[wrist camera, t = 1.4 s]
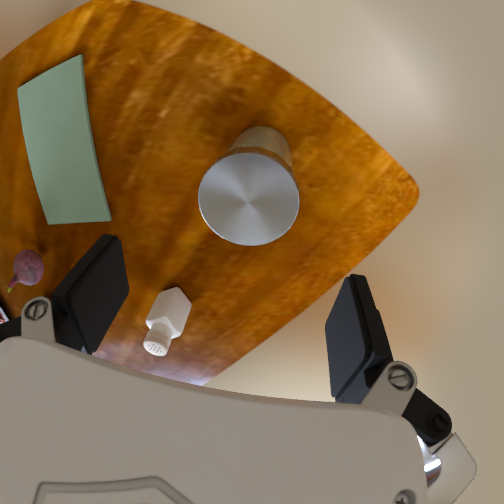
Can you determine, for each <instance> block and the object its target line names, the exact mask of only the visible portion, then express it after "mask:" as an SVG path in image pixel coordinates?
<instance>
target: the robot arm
mask: <svg viewBox="0 0 504 504" xmlns="http://www.w3.org/2000/svg"><path fill="white" fill-rule="evenodd" d="M128 293H129V285H128V280H127V275H126V269H125V263H124V257H123V251H122V245H121V241H120V240H118V237H117V236H115V235H109V234H103V235H102V236H101V237H100V238H99V239H98V240H97V242H96V243H95V244H94V245H93V246H92V247H91V248H90V249H89V250H88V251H87V252H86V254H85V255H84V256H83V257H82V258H81V259H80V260H79V261H78V263H77V264H76V265H75V266H74V267H73V268H72V269H71V271H70V272H69V273H68V274H67V275H66V277H65V278H64V279H63V280H62V281H61V283H60V284H59V285H58V286H57V288H56V289H55V290H54V291H53V293H52V294H51V295H52V298H51V299H50V300H49V299H48V298H46V297H42V296H39V297H35V298H32V299H31V300H29V301H28V302H27V303H26V304H25V305H24V307H23V309H22V313H21V316H20V317H17V318H14V319H12V320H9V321H6V322H4V323H1V324H0V504H453V503H454V502H455V500H456V499H457V498H458V497H459V496H460V495H461V494H462V492H463V491H464V490H465V489H466V488H467V486H468V485H469V484H470V483H471V482H472V480H473V479H474V477H475V475H476V471H477V465H476V462H475V460H474V459H473V457H472V456H471V455H470V453H469V451H468V450H467V449H466V447H465V445H464V444H463V443H462V441H461V440H460V438H459V437H458V435H457V434H456V433H454V434H452V433H451V429H452V422H451V418H450V417H449V414H448V413H447V412H446V411H445V410H444V409H442V408H441V407H440V406H438V405H437V404H436V403H435V402H433V401H432V400H431V399H430V398H428V397H427V396H426V395H425V394H423V393H422V392H421V391H420V390H418V389H417V388H416V386H417V376H416V373H415V372H414V370H413V369H412V368H411V367H410V366H409V365H408V364H406V363H404V362H401V361H393V357H392V353H391V349H390V346H389V342H388V339H387V336H386V332H385V329H384V325H383V322H382V319H381V316H380V313H379V311H378V310H377V309H376V306H375V303H374V300H373V297H372V294H371V291H370V288H369V285H368V283H367V280H366V277H365V276H363V275H357V274H351V275H350V277H346V278H345V279H344V282H343V284H342V287H341V289H340V291H339V294H338V296H337V298H336V301H335V303H334V305H333V308H332V310H331V312H330V314H329V316H328V319H327V321H326V324H325V333H326V342H327V352H328V362H329V373H330V385H331V395H332V397H335V400H336V401H335V402H320V401H306V400H294V399H284V398H274V397H265V396H257V395H250V394H243V393H236V392H230V391H224V390H219V389H213V388H208V387H203V386H198V385H193V384H189V383H184V382H180V381H176V380H171V379H167V378H163V377H159V376H156V375H152V374H148V373H145V372H141V371H138V370H134V369H131V368H128V367H124V366H121V365H118V364H115V363H112V362H109V361H106V360H103V359H100V358H97V357H94V356H92V353H93V352H95V351H96V350H97V349H98V347H99V345H100V343H101V341H102V340H103V338H104V336H105V334H106V332H107V330H108V329H109V327H110V325H111V323H112V321H113V320H114V318H115V316H116V314H117V313H118V311H119V309H120V308H121V306H122V304H123V302H124V301H125V299H126V297H127V296H128Z"/></svg>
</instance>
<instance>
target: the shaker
mask: <svg viewBox="0 0 504 504" xmlns="http://www.w3.org/2000/svg"><path fill="white" fill-rule="evenodd" d="M247 146H251V147H257V146H259V147H260V148H264V149H267V150H269V151H272V152H274V153H275V154H276V153H278V155H279V156H280V157H281V158H282V159H284V160H285V162H286V163H287V164H288V165H289V166H291V167H292V171H293V173H294V170H293V163H292V156H291V150H290V146H289V143H288V142H287V140H286V138H285V137H284V136H283V135H282V134H281V133H280V132H278V131H277V130H275V129H273V128H270V127H266V126H255V127H251V128H248V129H246V130H244V131H243V132H242V133H240V134H239V135H238V137H237V138H236V139H235V140H234V141H233V143H232V144H231V145H230V146H229V148H228V149H227V150H226V151H225V153H226V152H228V151H230V150H233V149H235V148H237V147H247Z"/></svg>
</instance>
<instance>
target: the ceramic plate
mask: <svg viewBox="0 0 504 504" xmlns="http://www.w3.org/2000/svg"><path fill="white" fill-rule="evenodd" d="M6 321H9V320H8V318H7V316H6V315H5V313H4V311H3V310H2V308H1V306H0V324H1V323H4V322H6Z"/></svg>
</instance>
